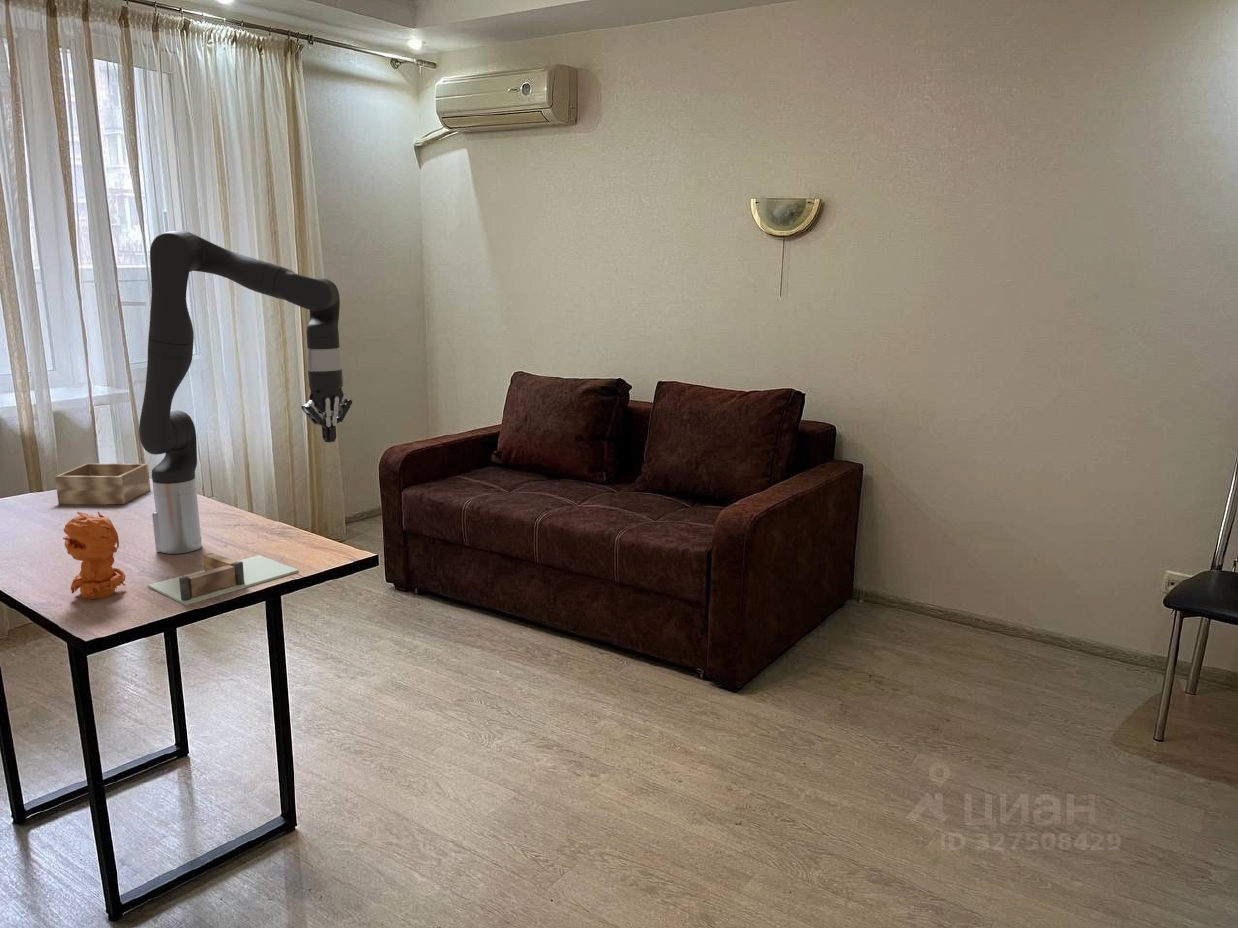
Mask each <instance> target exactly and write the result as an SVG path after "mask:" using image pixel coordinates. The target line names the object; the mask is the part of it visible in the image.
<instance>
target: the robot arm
mask: <svg viewBox="0 0 1238 928" xmlns="http://www.w3.org/2000/svg"><path fill="white" fill-rule="evenodd" d="M149 266H150V267H149V269H150V280H151V281H150V282H151V283H150V284H151V300H150V301H151V302H150V311H149V312H150V313H149V327H148V338H147V341H148V342H147V365H146V367H147V368H146V376H145V377H146V378H145V388H144V395H143V402H142V405H141V406H142V407H141V413H140V416H139V417H140V419H139V425H138V428H139V429H138V434H139V442H140V443H141V446H142V448H143V449H144V450H145V451H146V452H147V453H149V454H150V455H163V454H165V455H164V457H163V459H162V460H161V461H160V462H159V463H158V464H156V466H154V467H153V469H151V481H152V489H153V497H154V507H155V508H154V509H155V511H154V512H152V514H151V516H152V524H153V525H152V526H153V533H154V534H153V535H154V544H155V545H154V546H155V551H156V552H158V553H159V552H160V553H163V554H169V555H176V554H186V553H191V552H193V551H197V550H199V549H201V547H202V546H203V545H202V535H201V534H202V533H201V524H200V522H201V521H200V512H199V503H198V502H199V501H198V492H197V491H198V490H197V483H196V481H197V480H196V469H197V465H198V446H197V444H198V443H197V432H196V426H195V424H194V421H193V419H192V418H191V416H190V415H189V414H188V413H187V412H185V411H183V410H171V409H172V404H173V399H174V397H175V394H176V392H177V390H178V388H179V387H180V385H181V383H182V381H183V380H184V379H185V376H186V375H187V373H188V371H189V369H190V367H191V364H192V362H193V355H194V354H193V353H194V340H195V337H194V335H195V334H194V327H193V323H192V319H191V315H190V312H189V309H188V304H187V290H188V283H189V282H188V280H189V277H190V276H189V274H190V272H202V273H208V274H212V275H215V276H216V275H217V276H220V277H223V278H225V279H228V280H229V281H232V282H234V283H236V284H238V285H239V286H242V287H244V288H246V289H249V290H251V291H253V292H256V293H259V294H262V295H266V296H268V297H272V298H275V299H279V300H284V301H287V302H289V303H291V304H293V305H296V306H297V307H300V308H303V309H306V310H309V322H308V324H307V326H306V332H305V333H306V345H307V347H306V348H307V349H306V350H307V351H306V352H307V354H306V362H307V363H306V364H307V379H308V380H307V381H308V388H309V390H310V394H309V397H308V398H309V401H308V402H306V404H302V405H301V406H300V407H301V410H302V411H303V413H304V414H305V415H306V416H307V417H308V418H309V420H310V421H311V422H312V423H313V424H314V425H317V426H320V427H321V434H322V435H321V436H322V440H323V441H324V443H328V444H330V443H335V442H336V439H337V425H338V424H339V423H343V421H344V420H345V417H346V416H347V414H348V412H349V410H350V408H351V406H352V404H353V400H352V399H349V398H347V397H345V396H344V395H345V394H344V392H343V388H344V387H343V386H344V380H343V364H342V355H341V348H340V336H339V335H340V334H339V320H340V319H339V318H340V307H341V306H340V305H341V303H340V302H341V298H340V292H339V289H338V287H337V285H336V284H335V283H334V282H333V281H331V280H329V279H328V278H313V277H308V276H305V275H302V274H298V273H295V271H293V270H292V269H289V268H286V267H285V266H284V267H283V266H280V265H277V264H273V263H271V262H267V261H263V260H260V259H257V258H254V257H250V256H247V255H244V254H241V253H239V252H238V253H237V252H235V251H232V250H229V249H227V248H224V247H222V246H220V245H217V244H215V243H213V242H211V241H209V240H207V239H204V238H203V237H201V236H198V235H196V234H195V233H193V232H190V231H187V230H184V229H181V230H180V229H178V230H171V231H165V232H162V233H160V234H158V235H157V236H156V237H155V238H154V239H153V240H152V241H151V245H150V250H149Z"/></svg>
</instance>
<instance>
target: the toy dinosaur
mask: <svg viewBox="0 0 1238 928" xmlns="http://www.w3.org/2000/svg"><path fill="white" fill-rule="evenodd" d="M76 513H77V515H79V516H76V517H73V518H71V520H69V521H67V523H66V524H65V525H64V528H63V530H62V531H63V532H64V534H66V536H63V537H62V539H63V540H64V547H65V549H66V551H67V552H66V553H67V554H68V555H71V557H72V559H73V560H75V561H81V563H80V564H81V565H80V572H79V574H78V575H75V577H74V578H73V580H72V583H71V585H70V590H71V594H74V593H75V592H77V591H78V589H79V593H80V595H81V597H82V598H85V599H91V600H92V599H93V600H94V599H101V598H106V597H109V596H112V595H114V594H115V592H116V589H118V586H119V587H120V586H121V585H122V586H123V587H124V586H126V584H125V583H124V581H125V582H126V575H125V573H124V571H123V570H122V569H120V568H117V567H113V565H114V564H115V557H114V554H115V553H117V552H118V548H119V547H120V540H119V535H118V534H119V533H118V532H117V530H116V528H115V526H114V524H113V521H112V520H111V519H110V518H109V517H106V516H104V515H101V513H100V512H99V511H97V515H98V516H95V515H91V514H90V515H89V514H88V513H85V512H81V511H77V512H76Z"/></svg>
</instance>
